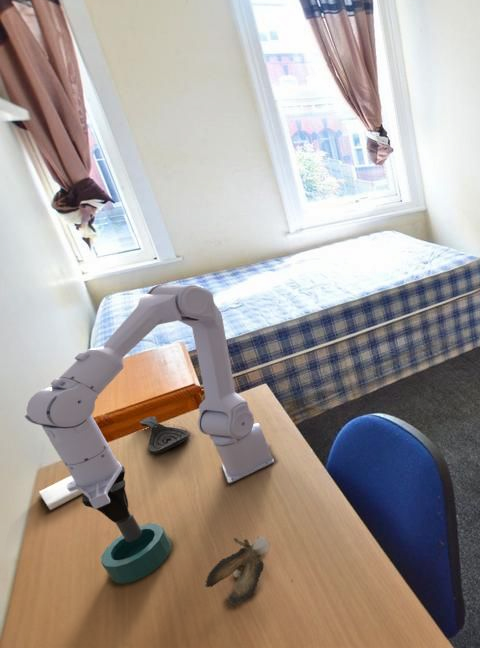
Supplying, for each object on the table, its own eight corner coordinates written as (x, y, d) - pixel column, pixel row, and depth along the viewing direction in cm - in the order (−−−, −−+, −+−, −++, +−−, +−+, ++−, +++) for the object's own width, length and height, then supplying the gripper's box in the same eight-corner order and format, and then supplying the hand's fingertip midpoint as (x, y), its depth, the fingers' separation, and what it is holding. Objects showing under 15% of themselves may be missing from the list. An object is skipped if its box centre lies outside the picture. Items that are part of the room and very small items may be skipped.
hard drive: (41, 496, 104) (108, 462, 113) (51, 511, 99) (120, 474, 108) (38, 491, 103) (105, 456, 112) (47, 505, 99) (117, 468, 108)
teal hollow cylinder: (169, 531, 91) (160, 515, 89) (173, 561, 84) (164, 544, 83) (111, 559, 86) (101, 543, 84) (111, 593, 79) (100, 577, 78)
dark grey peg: (141, 528, 86) (116, 482, 81) (142, 536, 84) (116, 490, 80) (126, 536, 84) (98, 490, 80) (126, 544, 83) (98, 497, 78)
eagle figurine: (226, 555, 83) (196, 596, 74) (240, 523, 82) (211, 561, 73) (268, 569, 84) (243, 612, 75) (282, 538, 83) (259, 577, 74)
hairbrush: (158, 404, 130) (192, 429, 115) (164, 415, 131) (198, 441, 116) (123, 420, 124) (154, 449, 109) (129, 432, 125) (160, 461, 110)
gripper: (58, 444, 80) (94, 503, 85) (49, 489, 69) (91, 554, 74) (109, 425, 84) (140, 483, 89) (109, 465, 73) (144, 528, 78)
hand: (121, 514), depth 82 cm, fingers closed on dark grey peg, 2 cm apart
